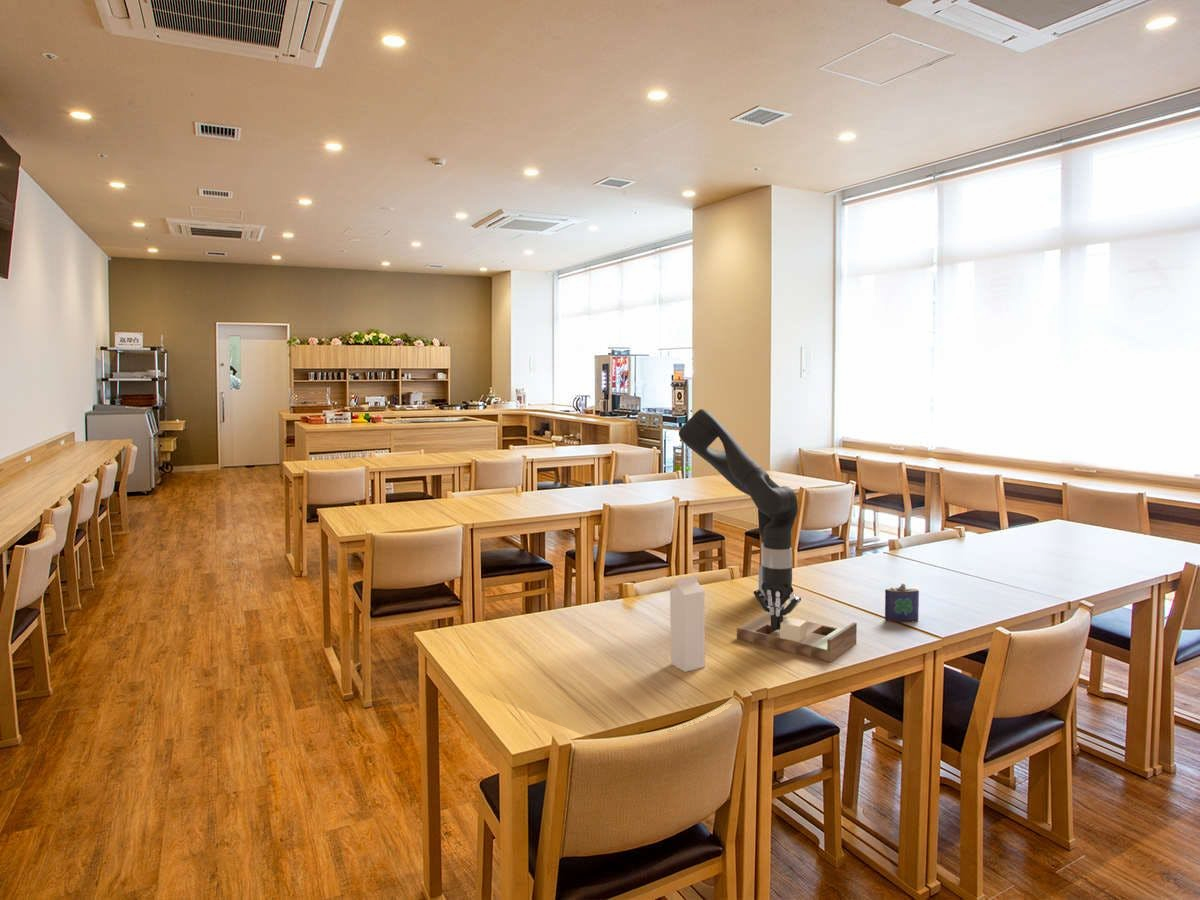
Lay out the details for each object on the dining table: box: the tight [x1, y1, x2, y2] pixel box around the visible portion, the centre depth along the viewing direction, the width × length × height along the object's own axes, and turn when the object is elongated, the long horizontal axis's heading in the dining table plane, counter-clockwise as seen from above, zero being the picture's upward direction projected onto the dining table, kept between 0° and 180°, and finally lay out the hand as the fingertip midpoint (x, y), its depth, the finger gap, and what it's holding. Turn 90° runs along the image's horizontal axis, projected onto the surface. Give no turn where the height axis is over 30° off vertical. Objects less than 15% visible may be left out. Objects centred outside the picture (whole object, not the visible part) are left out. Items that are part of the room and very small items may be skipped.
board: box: [736, 612, 858, 663], centre depth 193 cm, size 26×16×6 cm, turn 49°
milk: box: [669, 575, 706, 673], centre depth 177 cm, size 6×6×22 cm
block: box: [780, 617, 808, 642], centre depth 187 cm, size 5×5×4 cm
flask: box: [884, 583, 920, 623], centre depth 206 cm, size 9×3×11 cm, turn 87°
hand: (776, 628), depth 191 cm, fingers closed
